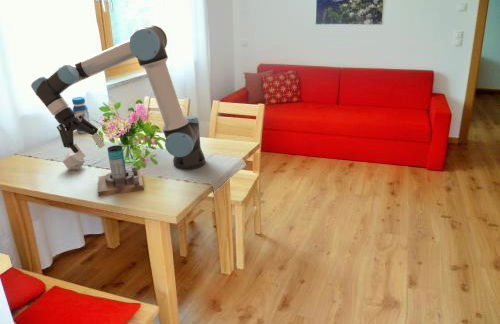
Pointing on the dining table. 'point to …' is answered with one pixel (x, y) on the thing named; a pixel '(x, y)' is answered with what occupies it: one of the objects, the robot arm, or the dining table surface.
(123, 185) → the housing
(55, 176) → the dining table surface
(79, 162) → the die
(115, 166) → the beverage can
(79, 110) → the beverage bottle
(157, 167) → the dining table surface
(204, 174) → the dining table surface
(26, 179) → the dining table surface
